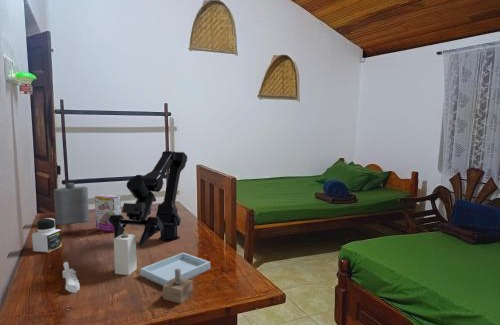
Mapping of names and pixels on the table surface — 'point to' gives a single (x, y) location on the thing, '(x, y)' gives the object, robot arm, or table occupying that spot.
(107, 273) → the table surface
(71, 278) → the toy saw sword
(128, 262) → the bored block
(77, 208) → the flask
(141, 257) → the table surface
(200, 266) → the tray
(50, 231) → the medicine bottle
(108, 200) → the candy bar box
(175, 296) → the wood block with post
